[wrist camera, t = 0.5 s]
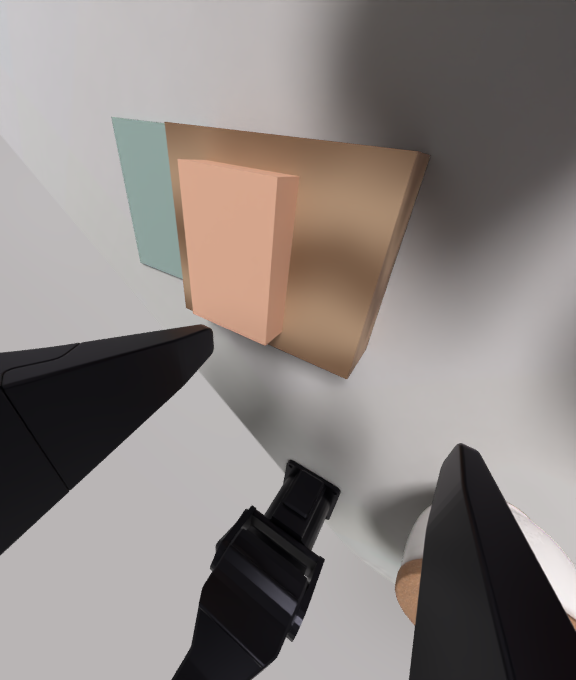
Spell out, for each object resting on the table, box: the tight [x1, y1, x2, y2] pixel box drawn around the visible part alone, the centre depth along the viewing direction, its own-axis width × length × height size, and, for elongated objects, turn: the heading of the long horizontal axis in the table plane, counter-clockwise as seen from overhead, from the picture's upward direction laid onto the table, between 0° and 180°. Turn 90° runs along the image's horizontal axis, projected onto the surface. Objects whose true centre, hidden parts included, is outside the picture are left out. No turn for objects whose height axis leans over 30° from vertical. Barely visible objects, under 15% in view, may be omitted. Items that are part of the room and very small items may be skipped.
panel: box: [111, 117, 183, 279], centre depth 24 cm, size 12×10×1 cm
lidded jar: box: [395, 502, 576, 630], centre depth 19 cm, size 11×11×9 cm
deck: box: [164, 122, 431, 379], centre depth 18 cm, size 12×14×4 cm
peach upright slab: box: [177, 159, 299, 346], centre depth 16 cm, size 9×6×2 cm, turn 173°
